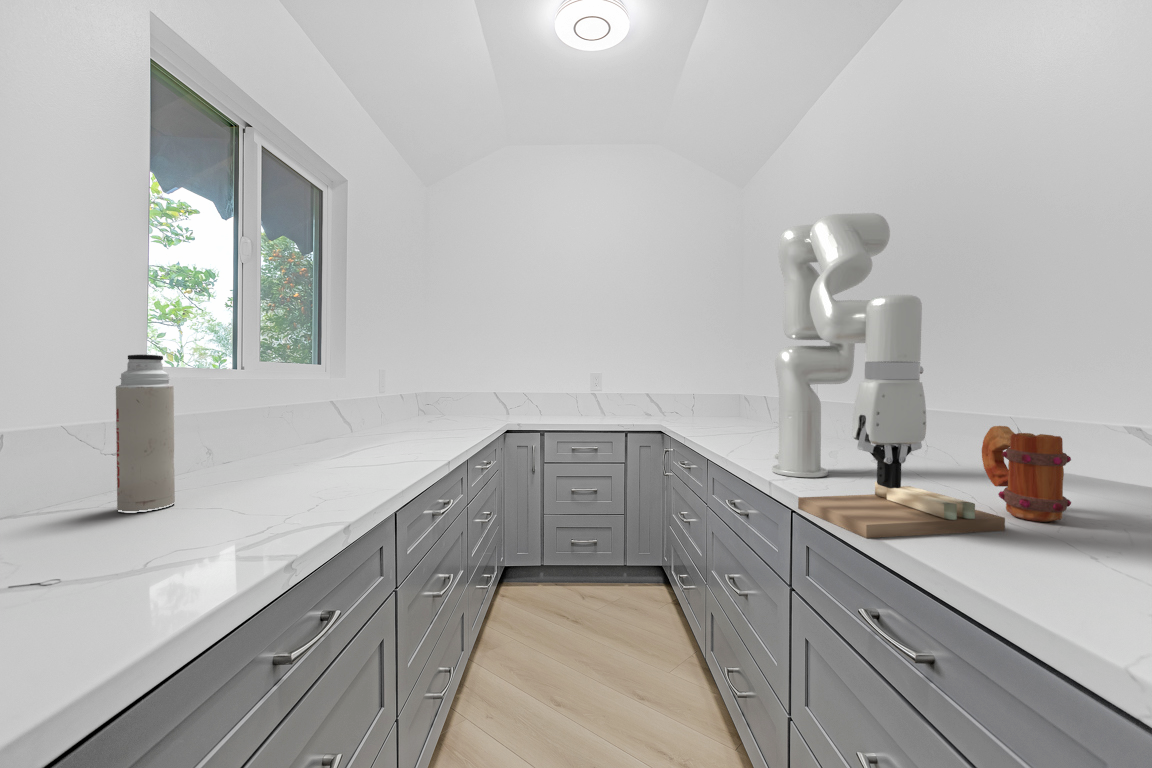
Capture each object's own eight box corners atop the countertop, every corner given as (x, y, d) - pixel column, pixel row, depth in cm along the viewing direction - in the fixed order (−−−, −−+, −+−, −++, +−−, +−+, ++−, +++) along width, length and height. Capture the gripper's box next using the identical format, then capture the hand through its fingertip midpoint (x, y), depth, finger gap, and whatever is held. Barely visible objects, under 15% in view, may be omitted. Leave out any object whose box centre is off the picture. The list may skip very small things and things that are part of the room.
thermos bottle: (109, 516, 86) (107, 353, 85) (127, 505, 93) (125, 355, 93) (167, 510, 89) (165, 354, 89) (180, 500, 96) (178, 355, 96)
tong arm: (868, 493, 93) (868, 481, 93) (889, 492, 93) (889, 481, 93) (949, 519, 76) (949, 505, 76) (973, 519, 76) (974, 504, 76)
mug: (1086, 527, 79) (1087, 432, 79) (1034, 526, 80) (1035, 432, 79) (1008, 503, 94) (1009, 424, 94) (964, 503, 94) (965, 424, 94)
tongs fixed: (880, 494, 92) (880, 478, 92) (894, 494, 92) (895, 478, 92) (961, 519, 76) (961, 499, 76) (978, 518, 76) (978, 499, 76)
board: (798, 508, 91) (798, 497, 91) (914, 503, 94) (914, 492, 94) (866, 538, 74) (866, 524, 74) (1004, 530, 78) (1004, 517, 77)
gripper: (913, 372, 85) (910, 479, 86) (833, 373, 83) (831, 482, 83) (953, 373, 77) (949, 490, 78) (866, 374, 75) (863, 494, 76)
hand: (888, 486), depth 81 cm, fingers closed
